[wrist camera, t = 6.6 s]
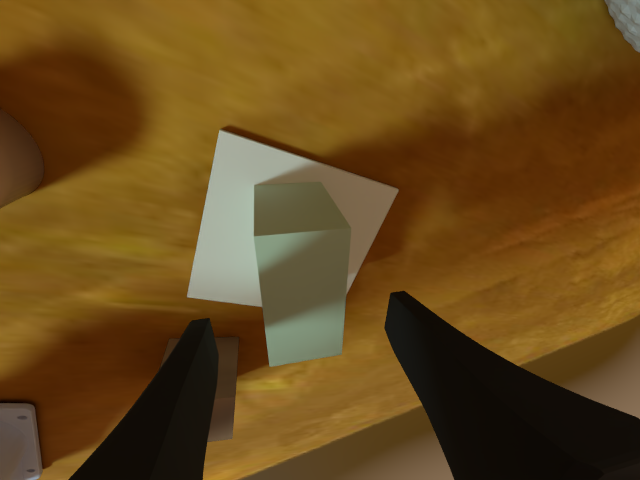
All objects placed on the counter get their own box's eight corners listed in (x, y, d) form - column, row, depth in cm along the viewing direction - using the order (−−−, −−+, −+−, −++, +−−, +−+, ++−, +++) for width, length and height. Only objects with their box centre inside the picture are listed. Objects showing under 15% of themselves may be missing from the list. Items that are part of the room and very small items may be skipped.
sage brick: (319, 284, 18) (341, 354, 14) (265, 290, 18) (269, 366, 13) (320, 181, 15) (351, 227, 10) (253, 185, 14) (253, 236, 9)
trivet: (334, 312, 20) (335, 316, 20) (188, 292, 17) (187, 297, 17) (396, 187, 16) (399, 189, 16) (220, 128, 13) (219, 129, 13)
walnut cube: (236, 376, 22) (232, 438, 18) (173, 380, 21) (155, 448, 17) (239, 336, 20) (235, 397, 16) (169, 337, 19) (147, 404, 15)
